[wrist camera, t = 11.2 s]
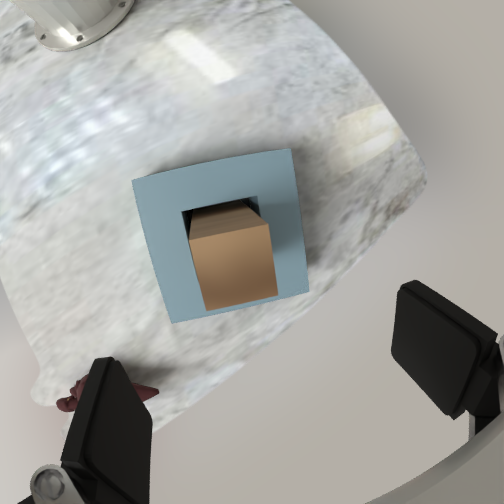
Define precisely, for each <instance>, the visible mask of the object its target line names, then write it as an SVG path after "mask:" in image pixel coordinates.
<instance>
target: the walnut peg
mask: <svg viewBox="0 0 504 504" xmlns="http://www.w3.org/2000/svg"><path fill="white" fill-rule="evenodd" d="M189 244H190V248H191V252H192V257H193V261H194V265H195V269H196V273H197V277H198V281H199V285H200V289H201V293H202V297H203V301H204V304H205V308H206V311H211V310H215V309H220V308H225V307H229V306H234V305H239V304H243V303H248V302H252V301H256V300H261V299H265V298H269V297H273V296H278V288H277V281H276V273H275V266H274V259H273V252H272V246H271V239H270V232H269V225H268V223H266V222H265V221H264V220H263V219H262V218H261V217H259V216H258V215H257V214H256V213H255V212H254V211H252V210H251V209H250V208H249V207H248V206H247V205H245V204H244V203H243V202H242V201H241V200H236V201H231V202H226V203H220V204H215V205H211V206H206V207H201V208H196V209H193V214H192V221H191V228H190V235H189Z"/></svg>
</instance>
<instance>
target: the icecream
mask: <svg viewBox="0 0 504 504" xmlns="http://www.w3.org/2000/svg"><path fill="white" fill-rule="evenodd" d="M87 377H88V374H87V375H85V376H84V377H83V378H82V379H81V380H78V381H76V386H74V387H72V388H71V389H70V393H71V396H69V397H66V398H61V399H59V400H57V402H56V405H57V407H58V408H59V409H60V410H61V411H64V412H73V411H75V410H76V407H77V404H78V401H79V399H80V396H81V393H82V390H83V388H84V385H85V382H86V380H87ZM131 383H132V382H131ZM132 385H133V387H134V388H135V390H136V392H137V394H138V395H139V397H140V399H141V400H142V402H144V401H146V400H148V399H150V398H152V397H154V396H155V395H157V394H159V390H158V389H156V388H152V387H147V386H143V385H139V384H135V383H132Z"/></svg>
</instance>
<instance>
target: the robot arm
mask: <svg viewBox="0 0 504 504" xmlns="http://www.w3.org/2000/svg"><path fill="white" fill-rule="evenodd" d="M9 1H10V2H12V3H13V4H14V5H15V6H17V7H18V8H19V9H20V10H22V11H23V12H24V13H26V14H27V15H28V16H29V17H31V18H32V19H33V20H34V21H35V36H36V39H37V40H38V42H39V43H40V44H41V45H42V46H44V47H45V48H47V49H49V50H51V51H57V52H63V51H70V50H75V49H78V48H81V47H83V46H86V45H88V44H90V43H92V42H94V41H96V40H97V39H99V38H101V37H102V36H104V35H105V34H107V33H108V32H109V31H110V30H112V29H113V28H114V27H115V26H116V25H117V24H118V23H119V22H120V21H121V20H122V19H123V18H124V17H125V15H126V14H127V13H128V12H129V10H130V9H131V7H132V5H133V3H134V1H135V0H9ZM497 335H498V334H497V333H496V332H495V331H493V330H492V329H490V328H489V327H488V326H486V325H485V324H483V323H482V322H480V321H479V320H478V319H476V318H475V317H473V316H472V315H470V314H469V313H467V312H466V311H464V310H463V309H461V308H460V307H458V306H457V305H455V304H454V303H452V302H451V301H449V300H448V299H446V298H445V297H443V296H442V295H440V294H438V293H437V292H435V291H434V290H432V289H431V288H429V287H428V286H426V285H424V284H423V283H421V282H420V281H418V280H413V281H410V282H407V283H405V284H402V285H401V287H400V290H399V291H398V292H397V301H396V313H395V322H394V332H393V339H392V346H391V354H392V356H393V358H394V359H395V361H396V362H397V363H398V364H399V365H400V366H401V367H402V368H403V369H404V370H405V371H406V372H407V373H408V375H409V376H410V377H411V378H412V379H413V380H414V381H415V382H416V383H417V384H418V385H419V387H420V388H421V389H422V390H423V391H424V392H425V393H426V394H427V395H428V397H429V398H430V399H431V400H432V401H433V402H434V403H435V404H436V405H437V407H438V408H439V409H440V410H441V411H442V412H443V413H444V414H445V415H449V416H450V417H451V418H452V419H453V420H455V419H456V418H458V417H459V416H460V415H461V414H463V413H464V412H465V410H467V411H468V412H469V441H468V442H467V443H466V444H465V445H463V446H462V447H460V448H459V449H458V450H456V451H455V452H454V453H452V454H451V455H450V456H448V457H447V458H445V459H444V460H442V461H441V462H439V463H438V464H436V465H435V466H433V467H432V468H430V469H429V470H427V471H426V472H424V473H422V474H421V475H419V476H417V477H416V478H414V479H412V480H411V481H409V482H407V483H405V484H403V485H402V486H400V487H398V488H396V489H394V490H392V491H390V492H388V493H386V494H384V495H382V496H380V497H378V498H376V499H374V500H372V501H370V502H367V503H365V504H504V335H503V336H502V337H501V338H500V341H499V344H498V343H496V342H495V341H496V338H497ZM152 425H153V423H152V418H151V415H150V413H149V412H148V410H147V408H146V407H145V405H144V404H143V402H142V400H141V399H140V397H139V395H138V394H137V392H136V390H135V388H134V387H133V385H132V383H131V381H130V380H129V378H128V376H127V374H126V372H125V371H124V369H123V367H122V365H121V363H120V362H119V361H115V360H114V358H112V357H105V358H98V359H95V360H94V362H93V364H92V367H91V369H90V372H89V374H88V377H87V380H86V382H85V385H84V388H83V390H82V393H81V396H80V399H79V401H78V404H77V407H76V410H75V413H74V416H73V419H72V422H71V425H70V428H69V432H68V435H67V438H66V441H65V445H64V449H63V452H62V456H61V459H60V460H61V461H62V464H61V467H59V466H57V465H53V464H50V465H45V466H42V467H40V468H39V469H38V470H37V471H36V472H35V473H34V474H33V476H32V478H31V481H30V490H31V494H32V495H30V496H29V497H27V498H26V499H24V500H23V501H21V502H19V503H18V504H149V489H150V485H149V484H150V457H151V439H152Z"/></svg>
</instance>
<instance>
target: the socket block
mask: <svg viewBox="0 0 504 504" xmlns="http://www.w3.org/2000/svg"><path fill="white" fill-rule="evenodd" d="M132 185H133V190H134V194H135V199H136V203H137V207H138V211H139V216H140V220H141V224H142V228H143V231H144V235H145V239H146V243H147V246H148V250H149V254H150V257H151V261H152V264H153V267H154V271H155V274H156V277H157V281H158V284H159V287H160V290H161V293H162V296H163V299H164V302H165V306H166V308H167V311H168V314H169V317H170V320H171V323H177V322H182V321H187V320H192V319H197V318H202V317H206V316H211V315H216V314H220V313H225V312H229V311H233V310H238V309H242V308H246V307H251V306H255V305H259V304H263V303H267V302H271V301H275V300H279V299H283V298H287V297H291V296H295V295H299V294H302V293H306V292H309V282H308V273H307V263H306V254H305V245H304V237H303V229H302V221H301V213H300V206H299V199H298V192H297V185H296V178H295V171H294V165H293V159H292V152H291V148H287V149H280V150H273V151H266V152H260V153H254V154H248V155H242V156H236V157H230V158H225V159H220V160H215V161H210V162H205V163H200V164H195V165H191V166H186V167H182V168H177V169H173V170H169V171H165V172H161V173H157V174H153V175H149V176H145V177H141V178H138V179H134V180H132ZM247 197H249V203H250V209H251V210H252V211H254V212H255V213H256V214H257V215H258V216H259V217H261V218H262V219H263V220H264V221H265V222H266V223H268V225H269V232H270V239H271V246H272V252H273V259H274V266H275V273H276V281H277V288H278V296H273V297H269V298H265V299H261V300H256V301H252V302H248V303H243V304H239V305H234V306H229V307H225V308H220V309H215V310H211V311H206V308H205V304H204V301H203V297H202V293H201V289H200V285H199V281H198V277H197V273H196V269H195V265H194V261H193V257H192V252H191V248H190V244H189V235H190V226H189V222H188V218H187V213H186V210H190V209H194V208H199V207H203V206H208V205H213V204H217V203H222V202H227V201H232V200H237V199H242V198H247Z"/></svg>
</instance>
